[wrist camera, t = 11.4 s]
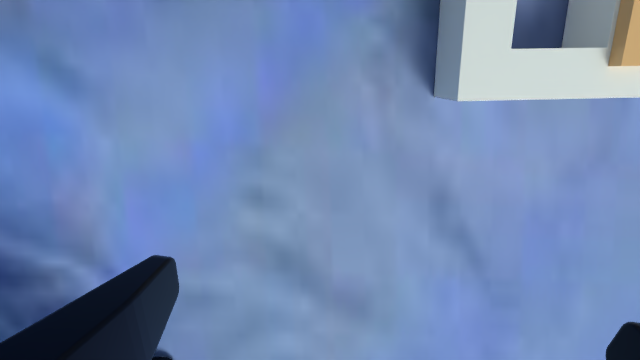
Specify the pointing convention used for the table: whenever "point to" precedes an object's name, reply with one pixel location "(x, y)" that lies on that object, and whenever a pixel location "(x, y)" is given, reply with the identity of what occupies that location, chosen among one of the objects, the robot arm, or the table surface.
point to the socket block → (537, 53)
